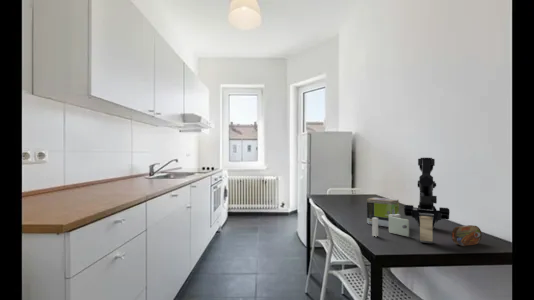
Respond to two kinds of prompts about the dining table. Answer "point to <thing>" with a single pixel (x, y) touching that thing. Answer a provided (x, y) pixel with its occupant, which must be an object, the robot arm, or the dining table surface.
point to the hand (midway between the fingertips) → (426, 227)
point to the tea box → (381, 210)
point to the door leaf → (399, 226)
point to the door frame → (375, 224)
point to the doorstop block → (426, 229)
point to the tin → (466, 235)
